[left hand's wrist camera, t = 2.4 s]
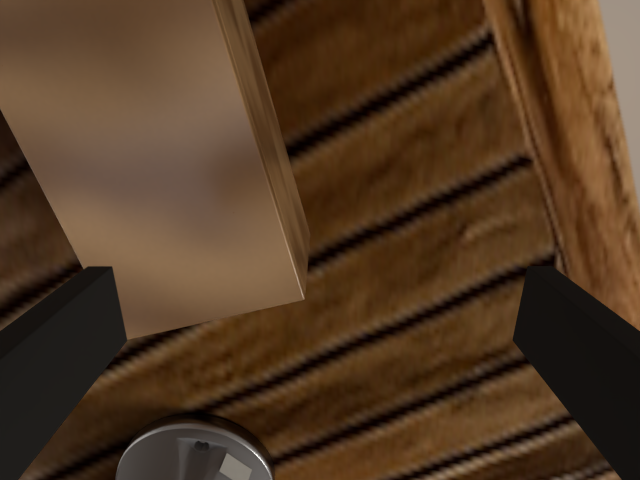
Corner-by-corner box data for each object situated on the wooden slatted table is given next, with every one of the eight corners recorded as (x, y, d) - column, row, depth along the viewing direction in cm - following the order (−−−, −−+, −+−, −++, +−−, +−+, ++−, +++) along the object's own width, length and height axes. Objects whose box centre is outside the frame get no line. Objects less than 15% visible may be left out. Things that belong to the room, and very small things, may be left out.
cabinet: (82, 31, 26) (-61, -5, 16) (238, -17, 25) (185, -87, 15) (181, 266, 32) (120, 341, 22) (310, 235, 31) (305, 300, 21)
